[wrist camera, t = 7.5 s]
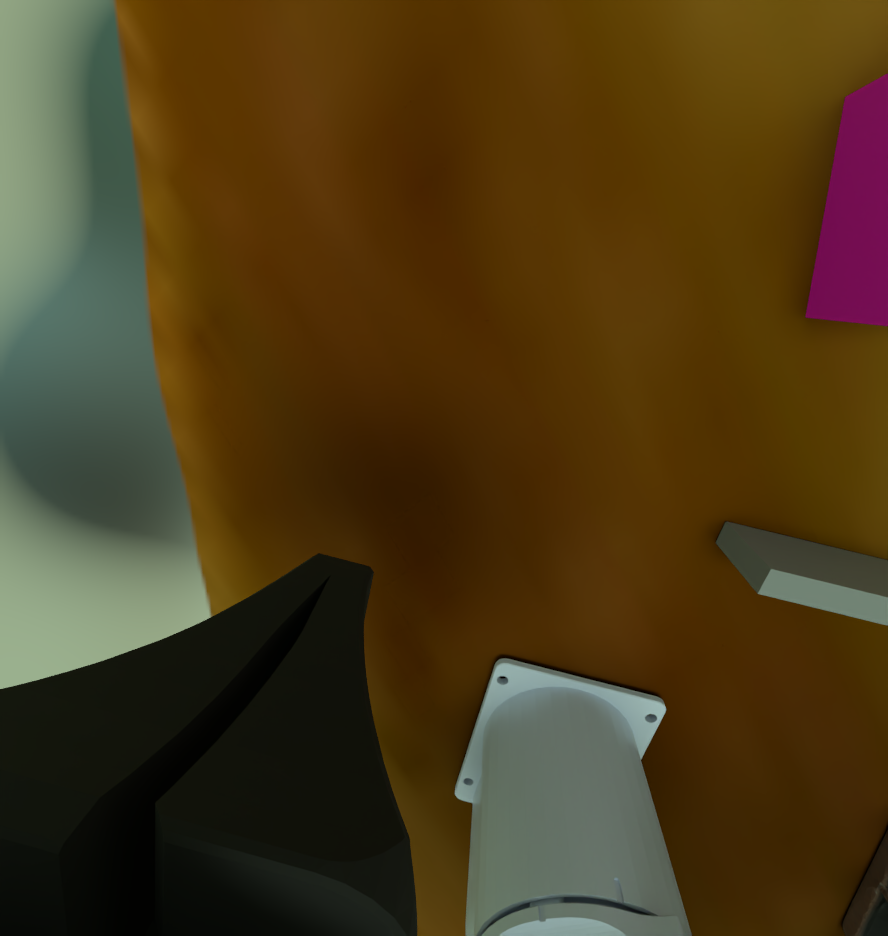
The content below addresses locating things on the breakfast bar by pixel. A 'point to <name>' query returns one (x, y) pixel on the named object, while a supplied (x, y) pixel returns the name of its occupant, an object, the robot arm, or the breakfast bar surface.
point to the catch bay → (808, 572)
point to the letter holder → (871, 899)
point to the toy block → (856, 216)
